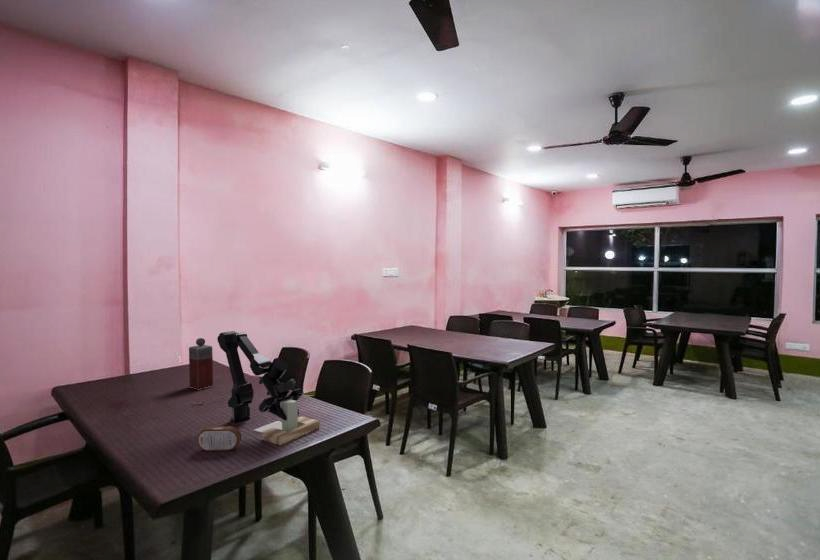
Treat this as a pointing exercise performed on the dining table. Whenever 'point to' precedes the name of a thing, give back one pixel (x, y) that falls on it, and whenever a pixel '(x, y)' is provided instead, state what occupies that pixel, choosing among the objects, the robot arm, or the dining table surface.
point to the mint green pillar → (290, 415)
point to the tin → (219, 438)
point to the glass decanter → (200, 365)
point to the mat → (270, 426)
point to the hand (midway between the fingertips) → (292, 417)
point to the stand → (283, 436)
